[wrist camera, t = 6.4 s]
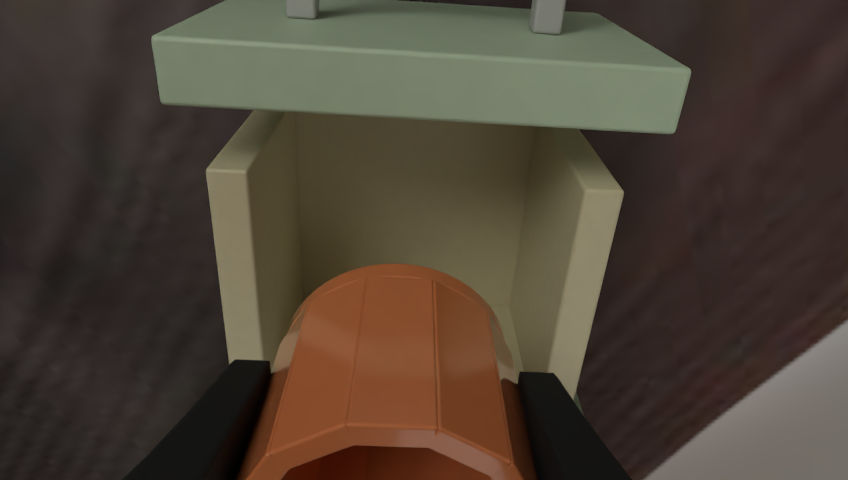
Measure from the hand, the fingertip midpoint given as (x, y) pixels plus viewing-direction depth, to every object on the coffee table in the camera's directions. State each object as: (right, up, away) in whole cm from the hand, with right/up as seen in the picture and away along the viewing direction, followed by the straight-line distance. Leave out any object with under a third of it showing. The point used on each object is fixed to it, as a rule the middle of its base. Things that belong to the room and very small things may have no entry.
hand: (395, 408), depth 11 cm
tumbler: (0, +1, +1) cm, 1 cm away
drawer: (0, +7, +6) cm, 9 cm away
